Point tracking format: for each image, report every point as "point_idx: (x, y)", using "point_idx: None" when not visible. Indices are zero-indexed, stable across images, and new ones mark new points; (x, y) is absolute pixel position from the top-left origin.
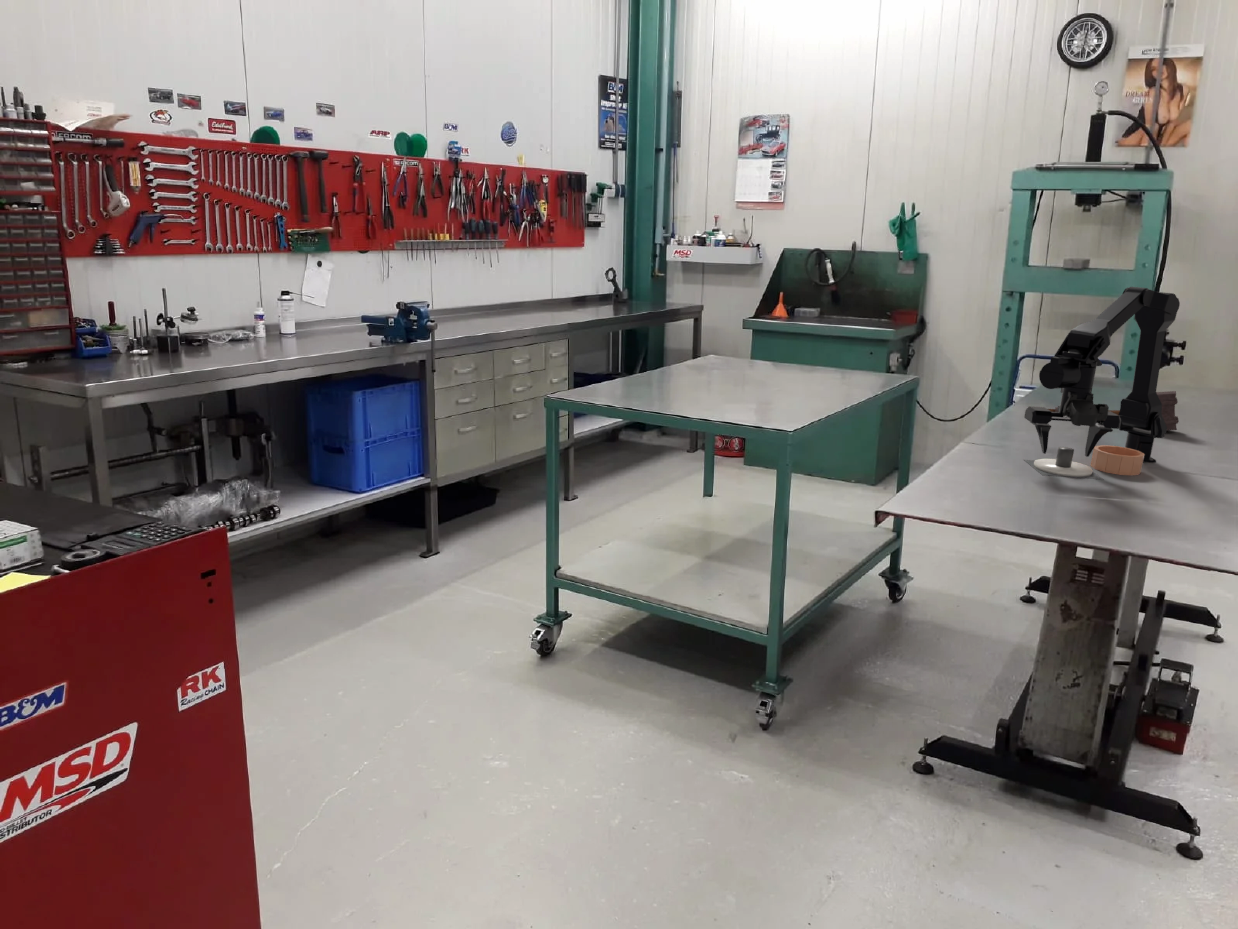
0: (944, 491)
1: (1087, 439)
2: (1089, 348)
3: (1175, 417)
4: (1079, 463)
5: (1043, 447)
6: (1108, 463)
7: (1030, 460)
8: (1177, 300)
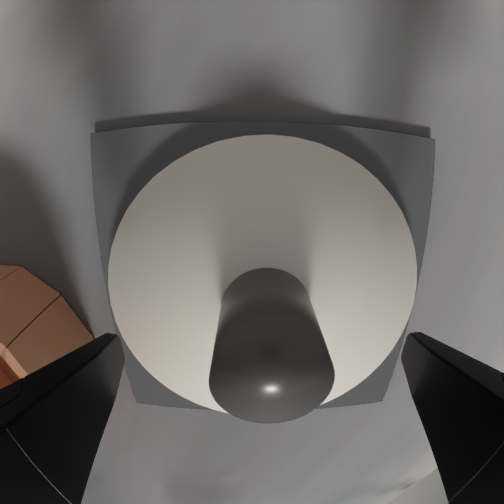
0: None
1: (89, 459)
2: None
3: None
4: (153, 370)
5: (452, 349)
6: (29, 313)
7: (359, 399)
8: None
